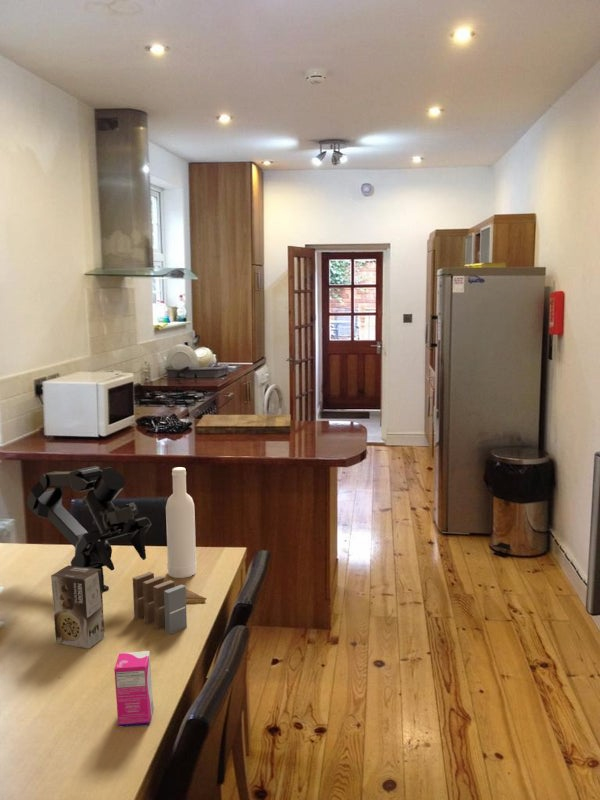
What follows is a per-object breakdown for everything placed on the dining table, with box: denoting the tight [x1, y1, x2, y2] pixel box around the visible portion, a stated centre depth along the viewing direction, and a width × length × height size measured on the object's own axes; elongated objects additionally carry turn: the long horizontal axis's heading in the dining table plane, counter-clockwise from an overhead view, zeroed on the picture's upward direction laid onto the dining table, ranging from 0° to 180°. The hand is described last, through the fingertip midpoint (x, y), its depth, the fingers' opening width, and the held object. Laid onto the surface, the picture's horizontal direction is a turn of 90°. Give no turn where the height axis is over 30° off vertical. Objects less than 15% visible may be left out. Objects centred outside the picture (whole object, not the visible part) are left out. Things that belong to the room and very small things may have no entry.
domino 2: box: [143, 575, 165, 625], centre depth 168 cm, size 2×5×10 cm, turn 139°
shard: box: [186, 589, 207, 604], centre depth 180 cm, size 11×8×2 cm
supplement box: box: [113, 650, 154, 727], centre depth 128 cm, size 6×6×12 cm
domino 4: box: [164, 584, 188, 635], centre depth 163 cm, size 2×5×10 cm, turn 139°
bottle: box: [165, 466, 197, 579], centre depth 196 cm, size 8×8×30 cm
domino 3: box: [153, 579, 176, 630], centre depth 166 cm, size 2×5×10 cm, turn 139°
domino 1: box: [132, 571, 155, 620], centre depth 171 cm, size 2×5×10 cm, turn 139°
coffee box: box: [50, 564, 105, 649], centre depth 158 cm, size 9×6×16 cm
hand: (129, 564), depth 174 cm, fingers open, 9 cm apart
